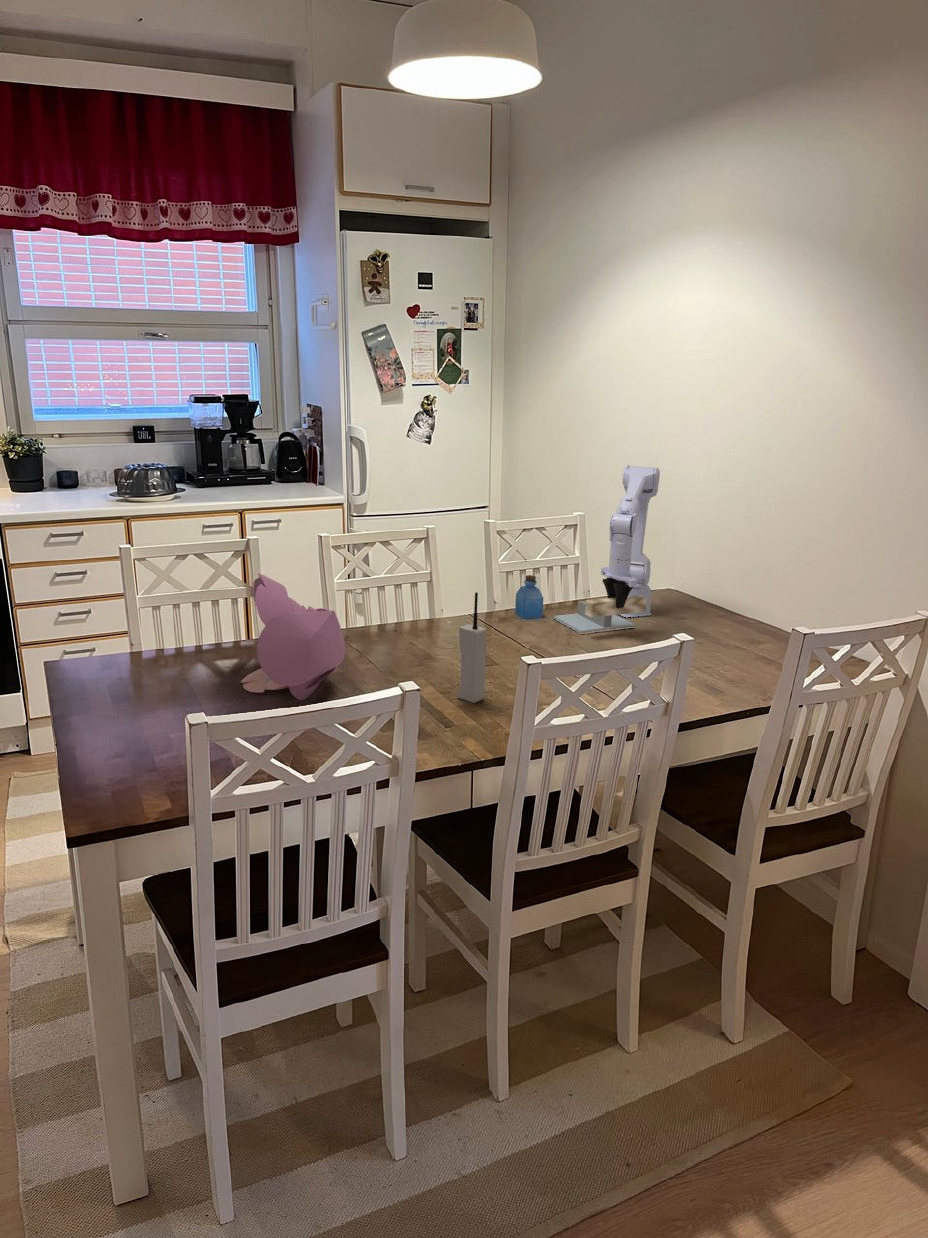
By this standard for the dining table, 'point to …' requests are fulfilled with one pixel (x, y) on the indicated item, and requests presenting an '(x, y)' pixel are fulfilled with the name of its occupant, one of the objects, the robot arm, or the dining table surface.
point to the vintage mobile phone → (472, 660)
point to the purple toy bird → (293, 642)
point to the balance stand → (591, 621)
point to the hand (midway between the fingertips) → (616, 605)
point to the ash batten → (609, 606)
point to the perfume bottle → (529, 600)
